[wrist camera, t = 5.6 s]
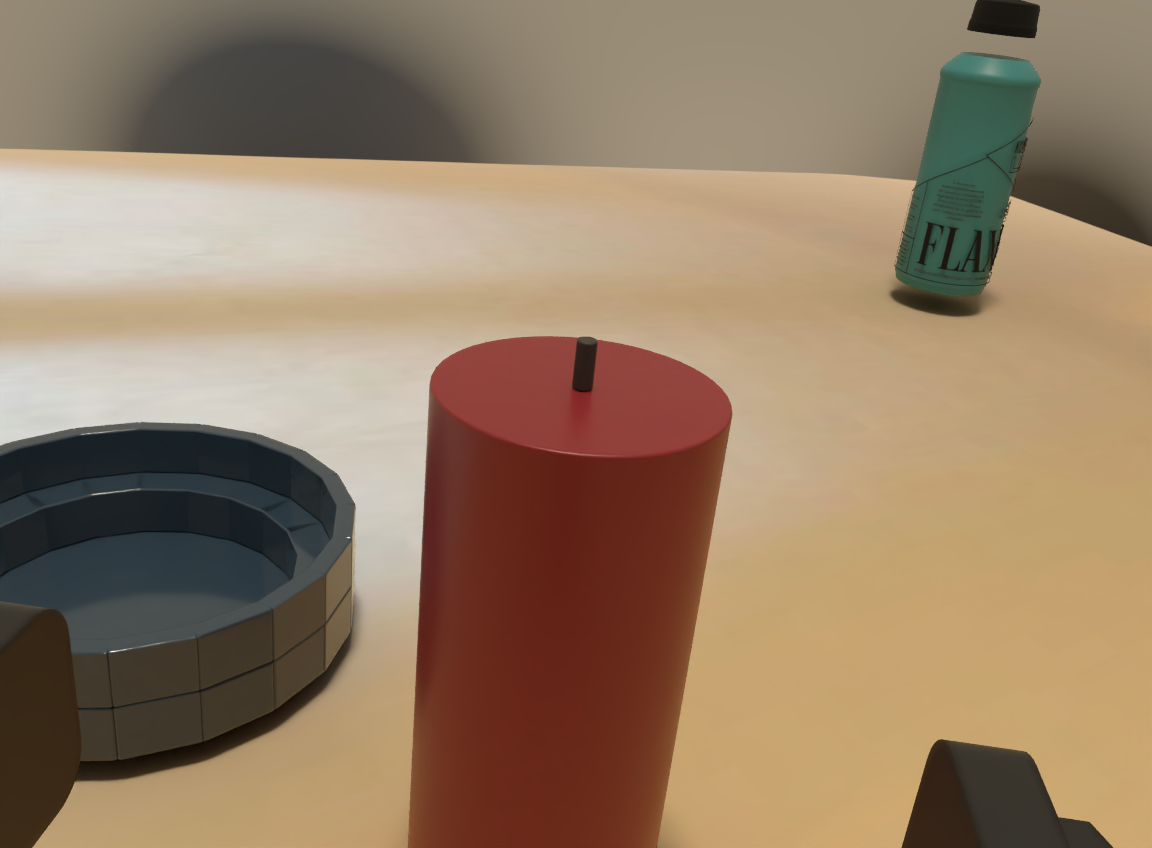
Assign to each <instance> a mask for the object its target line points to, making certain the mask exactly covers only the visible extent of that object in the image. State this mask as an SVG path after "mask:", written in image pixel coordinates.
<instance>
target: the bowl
mask: <svg viewBox="0 0 1152 848" xmlns="http://www.w3.org/2000/svg"><path fill="white" fill-rule="evenodd" d="M355 518H356V506H355V503H354V501H353V500H352V498H351V496H350V494H349V493H348V491H347V489H346V487H345V486H344V484H343V482H342V480H341V479H340V477H339V475H338V474H337V473H335V472H334V471H333V470H331V469H330V468H328V467H327V466H326V465H324V464H323V463H321V462H320V461H318V460H317V459H316V458H314V457H313V456H311V455H310V454H309V453H307V452H306V451H303V450H301V449H298V448H296V447H293V446H290V445H287V444H285V443H282V442H279V441H276V440H274V439H271V438H268V437H265V436H263V435H260V434H256V433H250V432H244V431H239V430H233V429H227V428H221V427H215V426H210V425H201V424H181V423H149V422H141V423H138V422H137V423H126V424H115V425H105V426H94V427H83V428H75V429H68V430H64V431H59V432H55V433H50V434H46V435H41V436H36V437H32V438H27V439H23V440H18V441H14V442H10V443H6V444H4V445H1V446H0V601H2V602H9V603H16V604H23V605H30V606H36V607H43V608H50V609H55V610H58V611H59V612H60V613H61V614H63V616H64V618H65V619H66V622H67V625H68V629H69V636H70V644H71V653H72V661H73V670H74V678H75V687H76V696H77V704H78V713H79V721H80V730H81V741H82V747H81V757H80V761H115V760H117V759H119V760H124V759H129V758H133V757H138V756H142V755H147V754H152V753H156V752H161V751H165V750H170V749H174V748H179V747H184V746H188V745H193V744H197V743H201V742H202V740H203V741H207V740H210V739H212V738H214V737H216V736H219V735H221V734H223V733H225V732H228V731H230V730H232V729H235V728H237V727H239V726H241V725H244V724H246V723H248V722H250V721H253V720H255V719H257V718H259V717H262V716H264V715H266V714H269V713H271V712H273V711H274V709H277V708H278V707H280V706H281V705H282V704H284V703H285V702H286V701H287V700H289V699H290V698H291V697H293V696H294V695H295V694H297V693H298V692H299V691H300V690H302V689H303V688H304V687H306V686H307V685H308V684H309V683H311V682H312V681H313V680H315V679H316V678H317V677H318V676H320V675H321V674H322V673H323V671H326V669H327V667H328V666H329V664H330V663H331V661H332V660H333V658H334V657H335V655H336V653H337V652H338V650H339V649H340V647H341V646H342V644H343V643H344V641H345V639H346V638H347V636H348V635H349V633H350V631H351V626H352V614H353V602H354V576H355Z"/></svg>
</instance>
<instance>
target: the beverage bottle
mask: <svg viewBox="0 0 1152 848" xmlns="http://www.w3.org/2000/svg"><path fill="white" fill-rule="evenodd" d="M1039 12H1040V6H1039V5H1036V4H1033V3H1029V2H1026V1H1022V0H977V2H976V4H975V7H974V11H973V14H972V17H971V19H970V21H969V25H968V28H967V30H970V31H976V32H982V33H990V34H998V35H1005V36H1014V37H1025V38H1035V36H1036V32H1037V22H1038V16H1039ZM1040 84H1041V79H1040V77H1039V75H1038V73H1037V71H1036V70H1035V68H1034V67H1033V65H1032V64H1031V63H1030V61H1028V60H1024V59H1019V58H1014V57H1008V56H1001V55H994V54H985V53H972V52H962V53H960V54H959V55H957V56H956V57H954V58H953V59H952V60H950V61H949V62H948V63H946V64H945V65H944V66H943V67H942V68H941V71H940V81H939V85H938V90H937V94H936V99H935V103H934V107H933V112H932V116H931V120H930V125H929V130H928V134H927V138H926V143H925V147H924V151H923V156H922V160H921V165H920V169H919V173H918V178H917V182H916V185H915V188H914V189H913V190H914V192H913V196H912V200H911V204H910V208H909V213H908V217H907V221H906V225H905V229H904V232H903V231H902V232H903V238H902V242H901V245H900V250H899V252H897V253H898V256H896V257H897V258H898V259H897V263H896V266H895V270H896V277H897V279H898V280H900V281H901V282H903V283H905V284H907V285H909V286H912V287H915V288H918V289H921V290H924V291H928V292H933V293H938V294H945V295H953V296H973V295H978V294H980V293H981V292H982V291H983V289H984V287H985V286H986V284H987V280H988V278H989V276H990V277H991V275H989V272H990V271H991V270H992V265H993V264H994V260H995V257H996V256H997V255H996V254H997V252H998V251H997V250H998V245H999V243H1000V242H999V241H1000V240H1001V239H1000V238H1001V234H1002V230H1003V227H1004V225H1003V222H1004V221H1003V220H1004V217H1005V215H1008V212H1006V211H1008V209H1007V207H1008V208H1009V206H1010V204H1011V201H1010V202H1009V205H1008V201H1009V197H1010V193H1011V190H1012V186H1013V182H1014V179H1015V175H1016V172H1018V171H1017V170H1018V169H1019V168H1018V165H1019V162H1020V161H1019V160H1020V156H1021V153H1022V150H1023V149H1024V147H1025V146H1026V145H1025V144H1026V142H1025V141H1026V140H1027V139H1026V140H1025V137H1026V133H1027V130H1028V127H1029V126H1030V125H1029V122H1030V118H1031V113H1032V108H1033V104H1034V101H1035V97H1036V94H1037V90H1038V88H1039V86H1040ZM1031 123H1032V122H1031ZM1031 123H1030V124H1031ZM1024 145H1025V146H1024ZM1023 146H1024V147H1023ZM1022 154H1023V153H1022ZM1013 187H1014V186H1013ZM913 190H912V191H913ZM911 194H912V193H911ZM910 198H911V197H910ZM909 202H910V201H909ZM908 206H909V205H908ZM907 211H908V210H907ZM1005 212H1006V213H1007V214H1005ZM906 215H907V214H906ZM1005 218H1006V217H1005ZM905 219H906V218H905ZM1005 221H1006V220H1005ZM904 223H905V222H904ZM903 227H904V226H903ZM1001 227H1002V229H1001ZM999 235H1000V236H999ZM901 236H902V235H901ZM998 239H999V240H998ZM900 240H901V239H900ZM899 244H900V243H899ZM996 246H997V247H996ZM898 248H899V247H898ZM995 250H996V251H995ZM994 254H995V255H994ZM993 257H994V258H993ZM895 261H896V260H895ZM993 266H994V265H993ZM990 273H992V272H990ZM989 279H990V278H989ZM988 283H989V282H988Z"/></svg>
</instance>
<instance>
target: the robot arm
mask: <svg viewBox="0 0 1152 848" xmlns="http://www.w3.org/2000/svg"><path fill="white" fill-rule="evenodd" d="M81 747H82V741H81V730H80V721H79V713H78V704H77V696H76V687H75V678H74V670H73V661H72V653H71V644H70V636H69V629H68V625H67V622H66V619H65V618H64V616H63V614H61V613H60V612H59V611H58V610H55V609H50V608H43V607H36V606H30V605H23V604H16V603H9V602H2V601H0V848H32V847H33V846H34V845H35V843H36V842H37V841H38V839H39V838H40V837H41V835H42V834H43V833H44V831H45V830H46V829H47V827H48V826H49V825H50V823H51V822H52V821H53V819H54V818H55V817H56V815H57V814H58V813H59V811H60V810H61V808H62V807H63V805H64V803H65V802H66V800H67V798H68V796H69V794H70V791H71V789H72V787H73V784H74V781H75V779H76V775H77V772H78V768H79V763H80V757H81ZM902 848H1113V847H1112V846H1111V845H1110V844H1109V842H1108V841H1107V840H1106V839H1105V838H1104V837H1103V836H1102V835H1101V834H1100V833H1099V832H1098V831H1097V830H1096V828H1095V827H1094V826H1093V825H1092V824H1091V823H1090V822H1086V821H1080V820H1073V819H1066V818H1059V817H1058V816H1057V814H1056V811H1055V809H1054V806H1053V804H1052V802H1051V799H1050V797H1049V794H1048V792H1047V790H1046V787H1045V785H1044V782H1043V780H1042V778H1041V775H1040V773H1039V770H1038V768H1037V766H1036V764H1035V762H1034V760H1033V758H1032V757H1031V756H1030V755H1029V754H1028V753H1027V752H1024V751H1018V750H1011V749H1004V748H997V747H991V746H984V745H977V744H970V743H963V742H956V741H949V740H942V739H941V740H938V741H937V742H935V743H934V745H933V746H932V748H931V750H930V753H929V755H928V758H927V761H926V765H925V768H924V772H923V775H922V779H921V782H920V786H919V789H918V793H917V796H916V800H915V803H914V807H913V810H912V814H911V817H910V820H909V824H908V827H907V831H906V834H905V838H904V841H903V845H902Z"/></svg>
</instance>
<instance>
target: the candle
mask: <svg viewBox="0 0 1152 848" xmlns="http://www.w3.org/2000/svg"><path fill="white" fill-rule="evenodd" d="M731 419H732V407H731V403H730V401H729V399H728V397H727V395H726V394H725V392H724V391H723V390H722V389H721V388H720V387H719V386H718V385H717V384H716V383H715V382H714V381H713V380H711V379H710V378H708V377H707V376H706V375H704V374H703V373H701V372H699V371H697V370H696V369H694V368H692V367H690V366H688V365H686V364H684V363H682V362H679V361H677V360H674V359H672V358H669V357H667V356H664V355H661V354H658V353H655V352H652V351H648V350H644V349H641V348H637V347H633V346H628V345H624V344H619V343H614V342H608V341H602V340H596V339H594V338H592V337H579V338H574V337H554V336H542V337H520V338H510V339H502V340H496V341H491V342H486V343H482V344H478V345H474V346H471V347H468V348H466V349H463V350H460V351H458V352H456V353H454V354H452V355H450V356H449V357H448V358H446V359H445V360H443V361H442V362H441V363H440V364H439V365H438V366H437V367H436V369H435V371H434V372H433V374H432V376H431V380H430V389H429V410H428V431H427V452H426V474H425V495H424V516H423V537H422V559H421V580H420V601H419V622H418V644H417V665H416V686H415V707H414V728H413V750H412V771H411V792H410V813H409V835H408V848H657V842H658V837H659V831H660V825H661V819H662V814H663V808H664V802H665V796H666V791H667V785H668V779H669V774H670V768H671V762H672V756H673V751H674V745H675V739H676V734H677V728H678V722H679V716H680V711H681V705H682V699H683V694H684V688H685V682H686V676H687V671H688V665H689V659H690V654H691V648H692V642H693V636H694V631H695V625H696V619H697V613H698V608H699V602H700V596H701V591H702V585H703V579H704V573H705V568H706V562H707V556H708V551H709V545H710V539H711V533H712V528H713V522H714V516H715V511H716V505H717V499H718V493H719V488H720V482H721V476H722V471H723V465H724V459H725V453H726V448H727V442H728V436H729V430H730V425H731Z"/></svg>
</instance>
